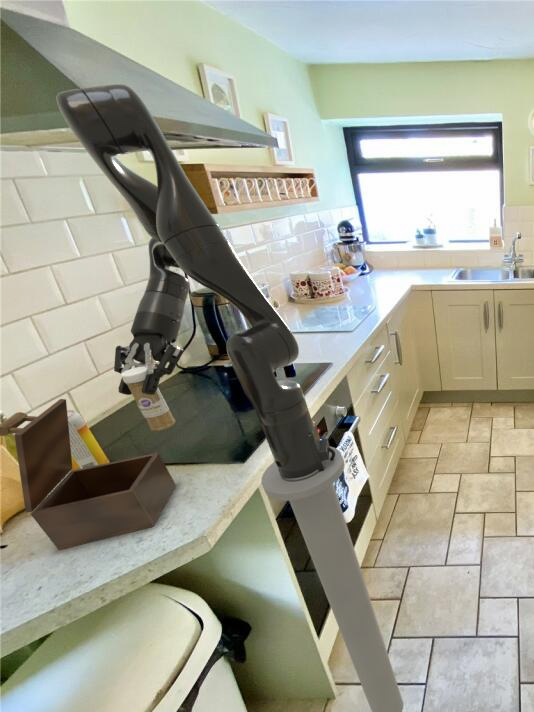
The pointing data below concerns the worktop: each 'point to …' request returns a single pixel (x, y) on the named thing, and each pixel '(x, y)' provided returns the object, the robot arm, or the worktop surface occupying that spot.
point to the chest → (105, 501)
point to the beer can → (83, 444)
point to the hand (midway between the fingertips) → (136, 393)
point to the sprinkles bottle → (148, 400)
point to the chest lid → (41, 451)
